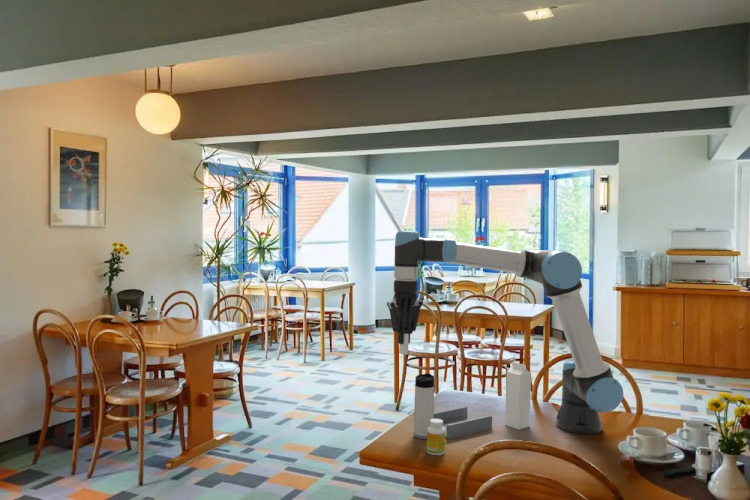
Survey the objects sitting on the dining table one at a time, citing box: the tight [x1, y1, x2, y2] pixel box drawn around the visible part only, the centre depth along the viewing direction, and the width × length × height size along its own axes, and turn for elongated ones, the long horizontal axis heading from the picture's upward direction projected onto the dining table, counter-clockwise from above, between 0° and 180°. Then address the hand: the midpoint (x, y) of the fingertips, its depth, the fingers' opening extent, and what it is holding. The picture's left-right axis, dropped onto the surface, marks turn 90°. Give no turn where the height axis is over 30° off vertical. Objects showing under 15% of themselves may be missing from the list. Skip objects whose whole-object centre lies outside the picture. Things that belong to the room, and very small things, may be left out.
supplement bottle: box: [426, 419, 446, 456], centre depth 174 cm, size 5×5×10 cm
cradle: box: [433, 405, 493, 440], centre depth 197 cm, size 13×20×4 cm, turn 125°
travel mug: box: [413, 373, 435, 440], centre depth 188 cm, size 6×7×20 cm
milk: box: [504, 361, 532, 430], centre depth 201 cm, size 6×6×22 cm
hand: (403, 353), depth 183 cm, fingers closed
